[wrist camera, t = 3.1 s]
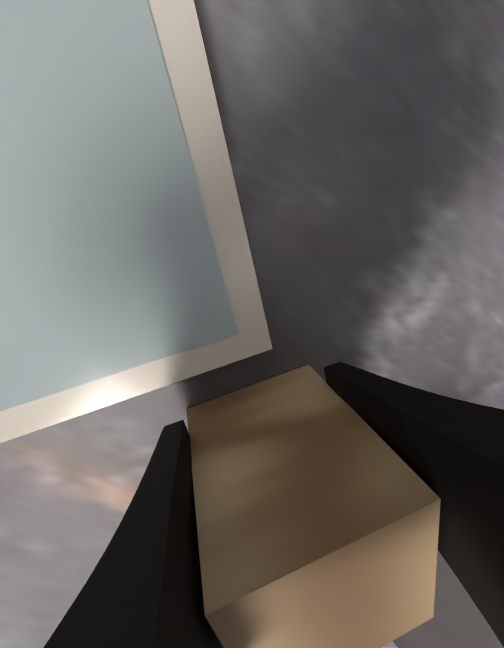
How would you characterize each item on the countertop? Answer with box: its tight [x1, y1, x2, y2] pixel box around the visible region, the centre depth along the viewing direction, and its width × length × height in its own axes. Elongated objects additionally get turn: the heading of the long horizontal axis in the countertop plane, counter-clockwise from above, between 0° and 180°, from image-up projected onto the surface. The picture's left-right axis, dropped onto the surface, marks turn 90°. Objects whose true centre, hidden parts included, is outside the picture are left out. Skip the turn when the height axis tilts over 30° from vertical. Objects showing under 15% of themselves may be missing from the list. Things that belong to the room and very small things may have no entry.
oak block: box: [187, 364, 441, 648], centre depth 9 cm, size 5×5×6 cm
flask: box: [393, 550, 504, 648], centre depth 12 cm, size 7×7×10 cm
